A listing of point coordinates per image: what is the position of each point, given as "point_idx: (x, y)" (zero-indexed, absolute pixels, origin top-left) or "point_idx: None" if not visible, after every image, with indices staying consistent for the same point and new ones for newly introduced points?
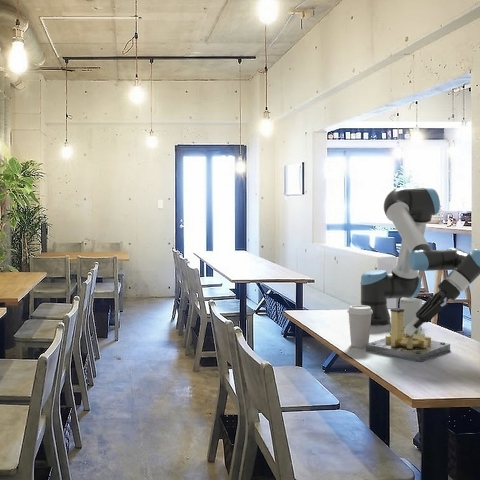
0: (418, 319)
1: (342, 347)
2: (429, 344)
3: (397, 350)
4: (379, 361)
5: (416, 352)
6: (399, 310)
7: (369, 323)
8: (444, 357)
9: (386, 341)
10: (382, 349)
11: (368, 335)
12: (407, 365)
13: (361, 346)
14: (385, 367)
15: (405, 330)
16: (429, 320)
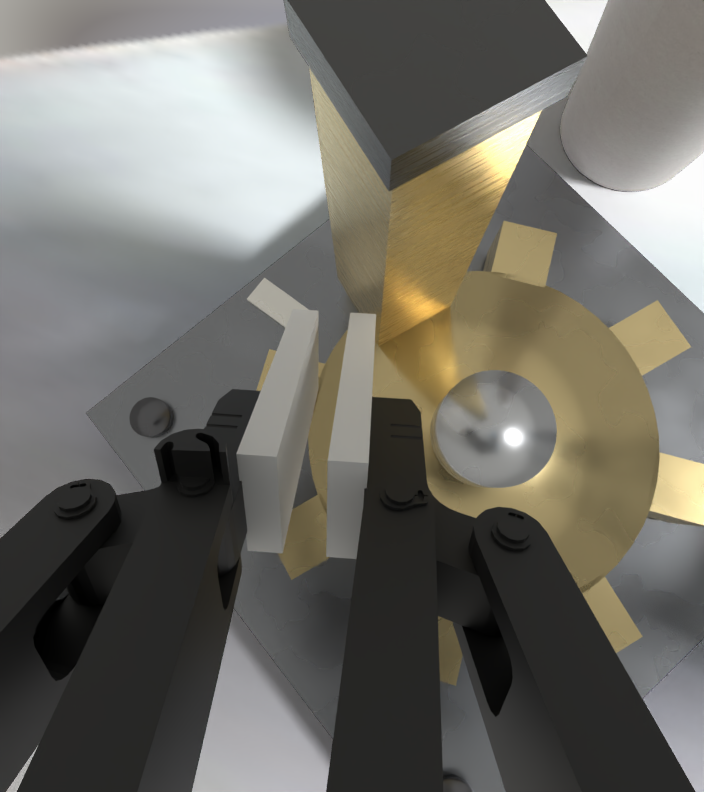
0: (239, 465)
1: (570, 11)
2: None
3: (253, 280)
4: (181, 155)
5: (144, 400)
6: (310, 42)
7: (693, 15)
8: (219, 674)
9: (488, 250)
10: None
11: (626, 116)
12: (56, 303)
13: (562, 122)
14: (40, 153)
15: (295, 312)
16: (50, 616)
